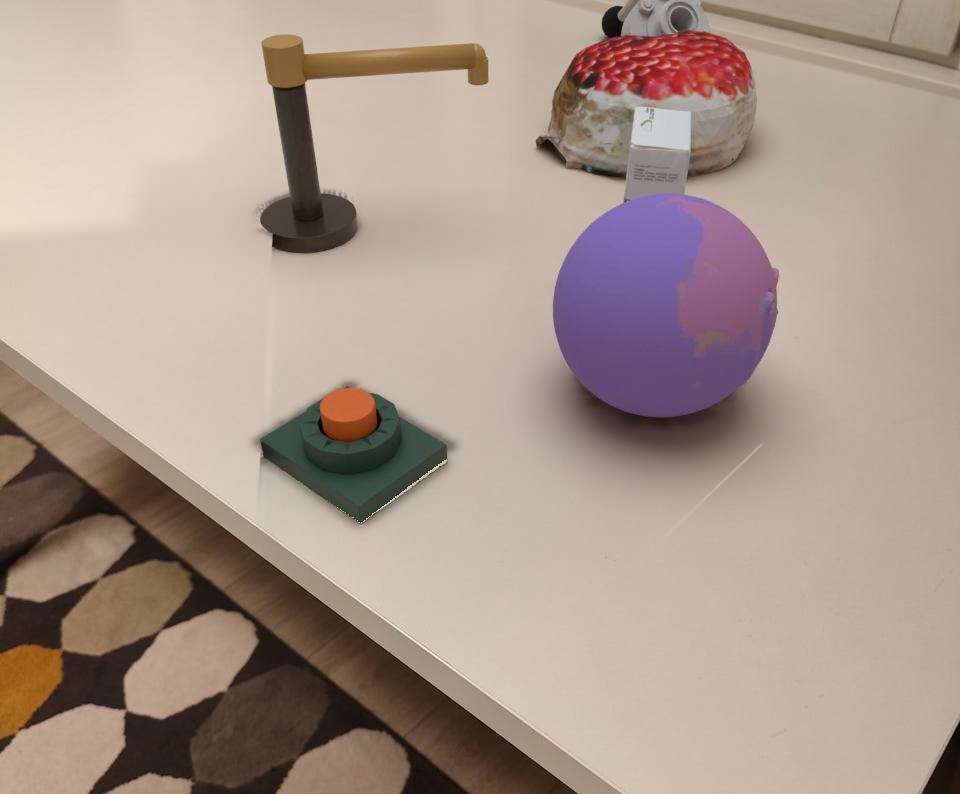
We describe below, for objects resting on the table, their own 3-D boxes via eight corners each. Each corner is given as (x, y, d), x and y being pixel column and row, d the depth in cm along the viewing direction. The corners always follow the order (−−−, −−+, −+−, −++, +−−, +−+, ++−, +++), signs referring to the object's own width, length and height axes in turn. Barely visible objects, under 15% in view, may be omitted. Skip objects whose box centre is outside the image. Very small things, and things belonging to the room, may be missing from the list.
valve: (657, 124, 130) (645, 14, 129) (727, 63, 110) (712, -67, 110) (587, 127, 127) (573, 15, 127) (645, 66, 108) (630, -67, 108)
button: (311, 426, 63) (308, 405, 62) (352, 401, 65) (349, 380, 64) (348, 449, 61) (345, 429, 60) (388, 423, 63) (386, 402, 62)
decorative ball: (752, 476, 63) (799, 279, 53) (531, 444, 66) (536, 251, 56) (758, 350, 74) (799, 165, 64) (568, 327, 77) (578, 147, 66)
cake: (653, 79, 116) (662, -9, 110) (794, 150, 101) (815, 52, 94) (491, 119, 108) (491, 26, 101) (618, 203, 92) (628, 100, 86)
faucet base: (260, 256, 86) (231, 107, 77) (264, 211, 93) (237, 69, 83) (359, 248, 87) (342, 100, 78) (356, 203, 93) (340, 62, 84)
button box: (263, 457, 65) (254, 418, 63) (350, 403, 70) (344, 365, 67) (361, 525, 60) (355, 485, 58) (447, 463, 65) (445, 423, 62)
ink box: (673, 281, 82) (691, 148, 73) (615, 277, 82) (627, 145, 74) (675, 234, 88) (692, 106, 80) (621, 230, 88) (633, 103, 80)
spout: (269, 103, 80) (260, 49, 77) (270, 88, 82) (261, 35, 79) (491, 88, 81) (490, 34, 78) (485, 74, 84) (485, 21, 81)
